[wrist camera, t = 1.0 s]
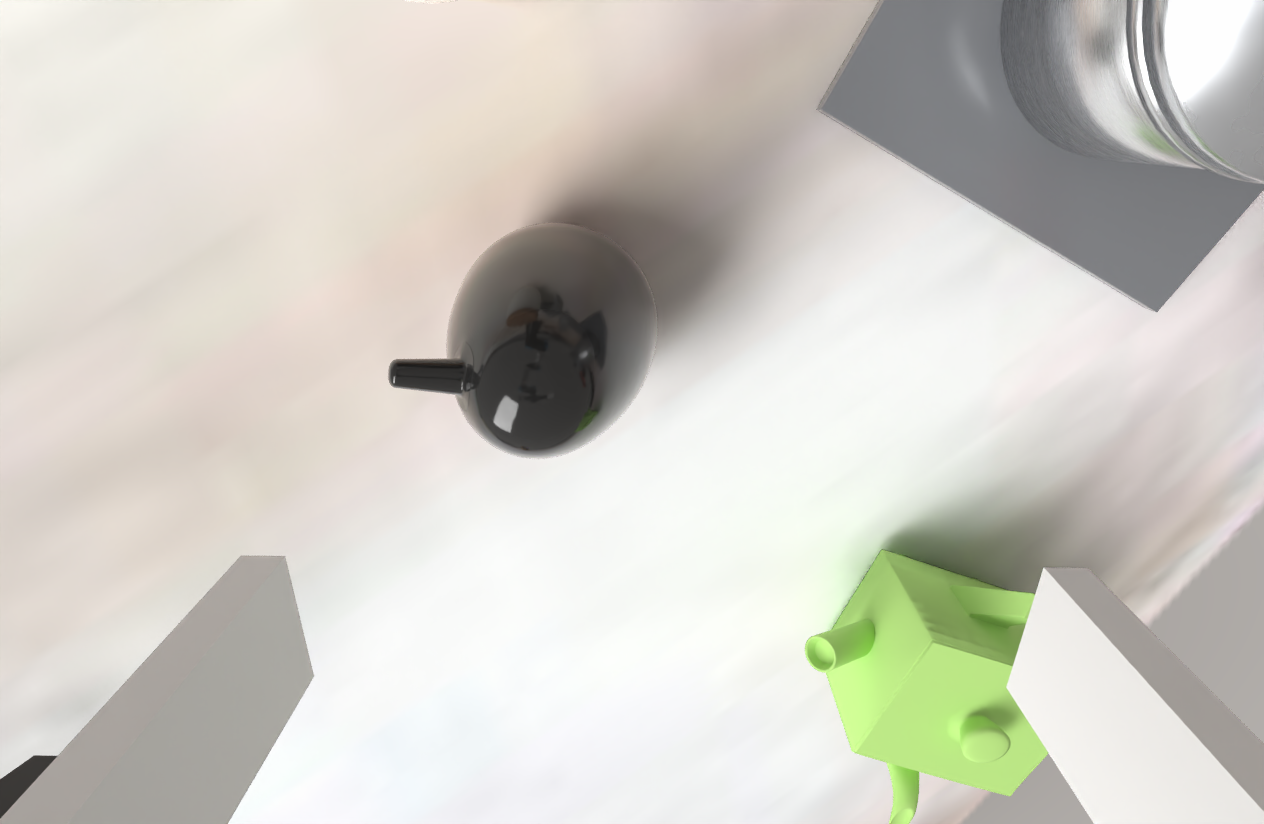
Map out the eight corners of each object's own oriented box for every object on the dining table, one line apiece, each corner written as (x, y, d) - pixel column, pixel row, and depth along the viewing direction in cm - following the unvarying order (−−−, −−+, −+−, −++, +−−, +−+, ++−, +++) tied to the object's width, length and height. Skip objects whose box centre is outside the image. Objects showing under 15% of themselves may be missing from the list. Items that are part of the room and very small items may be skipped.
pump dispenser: (485, 191, 35) (385, 241, 22) (675, 236, 36) (696, 311, 22) (462, 367, 40) (365, 504, 26) (633, 404, 40) (629, 556, 26)
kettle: (1040, 649, 48) (1149, 796, 38) (851, 712, 51) (904, 865, 40) (985, 487, 42) (1094, 607, 32) (777, 568, 45) (816, 702, 35)
